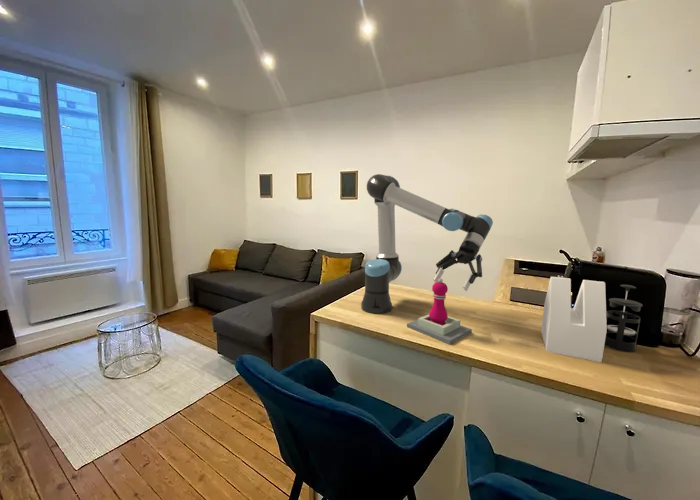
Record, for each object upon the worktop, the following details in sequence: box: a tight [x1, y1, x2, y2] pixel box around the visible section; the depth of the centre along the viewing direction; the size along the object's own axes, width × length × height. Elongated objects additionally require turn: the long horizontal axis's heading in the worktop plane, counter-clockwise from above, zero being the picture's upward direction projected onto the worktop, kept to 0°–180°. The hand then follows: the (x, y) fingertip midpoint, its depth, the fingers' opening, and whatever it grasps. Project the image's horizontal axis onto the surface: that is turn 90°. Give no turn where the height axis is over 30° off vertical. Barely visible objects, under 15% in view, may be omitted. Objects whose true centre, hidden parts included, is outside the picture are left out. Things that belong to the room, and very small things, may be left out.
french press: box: [604, 284, 644, 353], centre depth 109 cm, size 12×9×23 cm
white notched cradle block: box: [540, 276, 608, 363], centre depth 109 cm, size 19×15×25 cm
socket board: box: [406, 313, 473, 345], centre depth 123 cm, size 20×16×4 cm
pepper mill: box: [428, 278, 448, 326], centre depth 122 cm, size 7×7×20 cm
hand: (449, 285), depth 122 cm, fingers open, 13 cm apart
